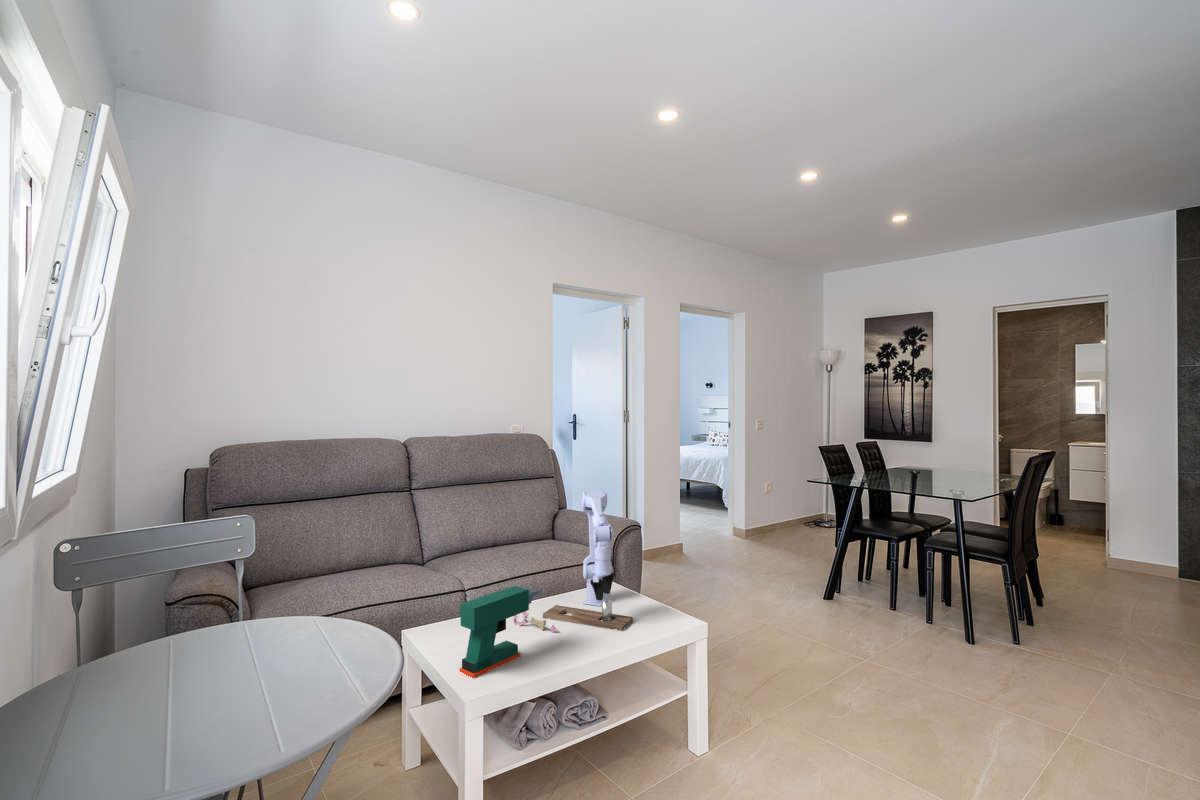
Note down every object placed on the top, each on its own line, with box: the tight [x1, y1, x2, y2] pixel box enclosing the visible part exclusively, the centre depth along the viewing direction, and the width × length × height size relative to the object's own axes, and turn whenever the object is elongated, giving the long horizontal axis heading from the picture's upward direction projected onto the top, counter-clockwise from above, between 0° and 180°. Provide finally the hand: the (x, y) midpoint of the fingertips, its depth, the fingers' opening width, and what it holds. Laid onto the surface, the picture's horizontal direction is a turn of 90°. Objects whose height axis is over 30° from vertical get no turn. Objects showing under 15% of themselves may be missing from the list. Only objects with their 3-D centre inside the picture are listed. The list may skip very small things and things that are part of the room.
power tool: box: [459, 585, 543, 679], centre depth 180 cm, size 32×7×20 cm, turn 141°
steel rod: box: [601, 598, 613, 622], centre depth 207 cm, size 4×4×8 cm
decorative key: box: [512, 611, 560, 633], centre depth 202 cm, size 7×1×20 cm
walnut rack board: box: [542, 604, 634, 631], centre depth 210 cm, size 10×32×2 cm, turn 65°
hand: (603, 596), depth 206 cm, fingers open, 7 cm apart
